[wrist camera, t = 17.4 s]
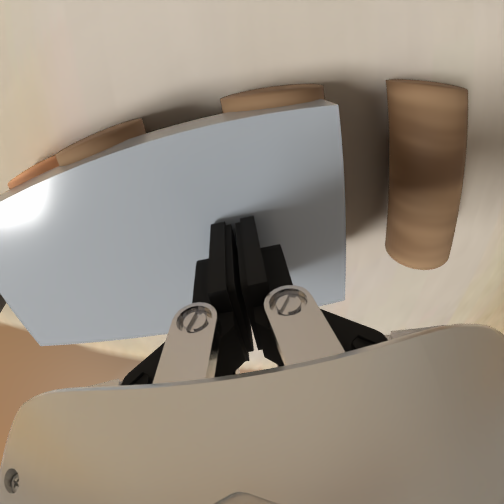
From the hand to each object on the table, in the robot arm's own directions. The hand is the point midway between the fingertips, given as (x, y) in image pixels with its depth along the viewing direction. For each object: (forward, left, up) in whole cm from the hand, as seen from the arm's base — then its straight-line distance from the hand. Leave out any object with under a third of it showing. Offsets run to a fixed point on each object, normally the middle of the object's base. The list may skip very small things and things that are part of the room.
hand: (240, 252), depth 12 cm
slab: (+5, -1, -2) cm, 5 cm away
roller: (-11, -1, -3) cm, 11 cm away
